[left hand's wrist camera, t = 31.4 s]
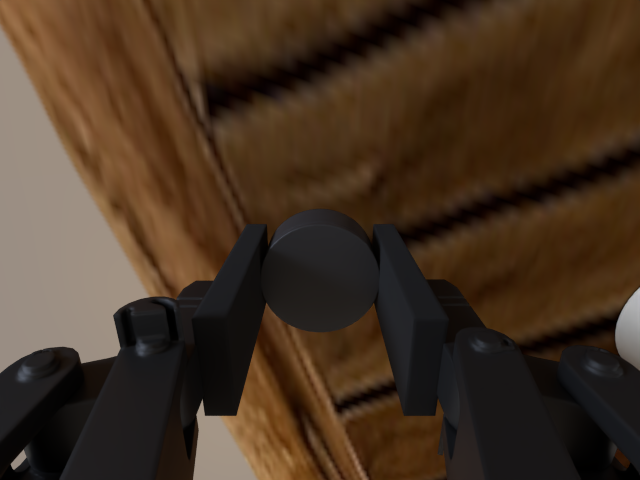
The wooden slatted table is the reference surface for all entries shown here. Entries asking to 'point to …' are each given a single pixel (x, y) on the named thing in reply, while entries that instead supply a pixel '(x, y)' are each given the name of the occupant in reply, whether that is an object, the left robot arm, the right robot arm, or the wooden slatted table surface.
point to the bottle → (629, 331)
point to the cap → (320, 271)
